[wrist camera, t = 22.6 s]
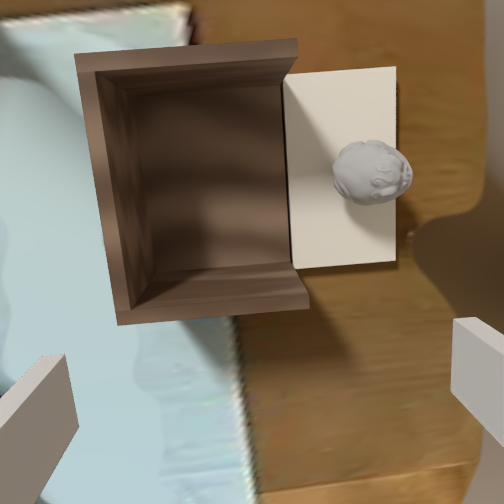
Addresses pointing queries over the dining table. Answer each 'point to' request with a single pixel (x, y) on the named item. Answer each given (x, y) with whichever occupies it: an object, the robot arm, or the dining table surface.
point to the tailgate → (325, 155)
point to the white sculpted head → (371, 173)
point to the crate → (192, 178)
